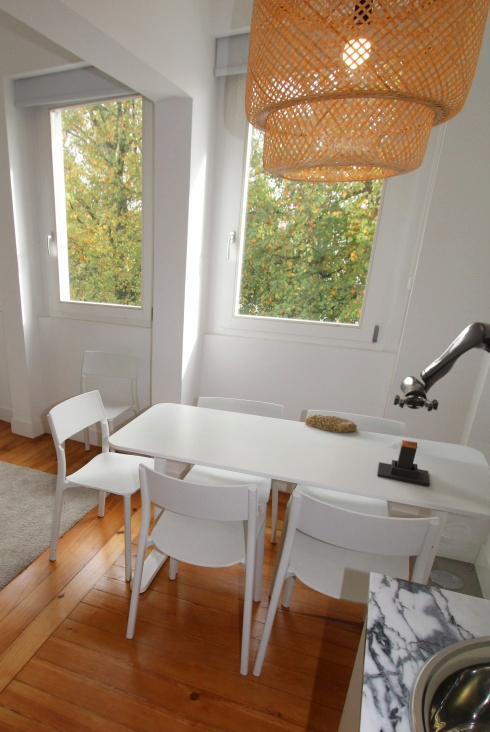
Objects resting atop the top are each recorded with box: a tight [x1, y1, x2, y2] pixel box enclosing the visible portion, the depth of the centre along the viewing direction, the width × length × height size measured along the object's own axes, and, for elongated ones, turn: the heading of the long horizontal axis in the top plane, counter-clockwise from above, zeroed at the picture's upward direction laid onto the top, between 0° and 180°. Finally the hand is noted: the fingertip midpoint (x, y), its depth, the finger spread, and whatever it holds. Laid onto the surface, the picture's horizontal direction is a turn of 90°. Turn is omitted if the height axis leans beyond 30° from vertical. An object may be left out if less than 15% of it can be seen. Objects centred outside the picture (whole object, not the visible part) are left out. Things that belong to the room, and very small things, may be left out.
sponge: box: [305, 414, 358, 433], centre depth 207 cm, size 13×8×20 cm
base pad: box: [377, 459, 430, 487], centre depth 166 cm, size 16×12×4 cm
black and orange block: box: [396, 439, 418, 470], centre depth 164 cm, size 5×5×11 cm
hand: (415, 407), depth 167 cm, fingers open, 8 cm apart
